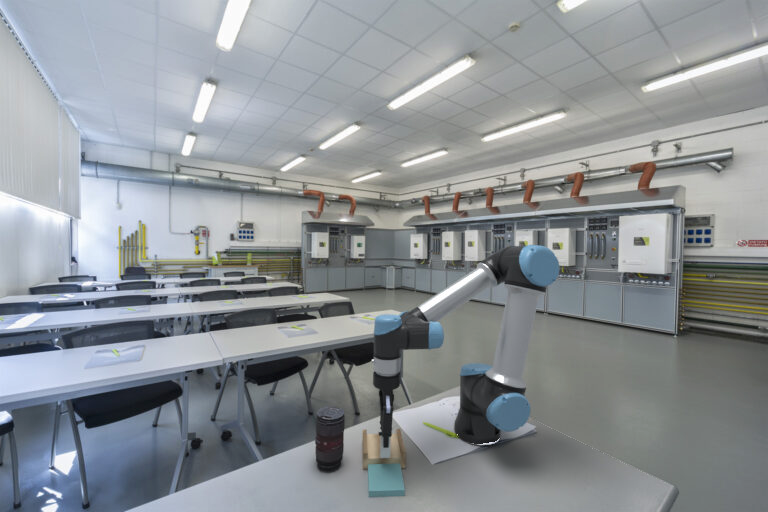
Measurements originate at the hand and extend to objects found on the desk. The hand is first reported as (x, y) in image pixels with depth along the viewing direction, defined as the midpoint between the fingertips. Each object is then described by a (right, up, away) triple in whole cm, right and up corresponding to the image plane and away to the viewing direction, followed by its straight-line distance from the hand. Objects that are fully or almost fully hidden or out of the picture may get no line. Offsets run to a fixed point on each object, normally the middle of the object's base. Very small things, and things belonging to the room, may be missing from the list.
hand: (385, 456), depth 87 cm
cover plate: (0, -5, -4) cm, 6 cm away
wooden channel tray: (-1, -4, +7) cm, 8 cm away
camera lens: (-16, -4, +2) cm, 17 cm away
